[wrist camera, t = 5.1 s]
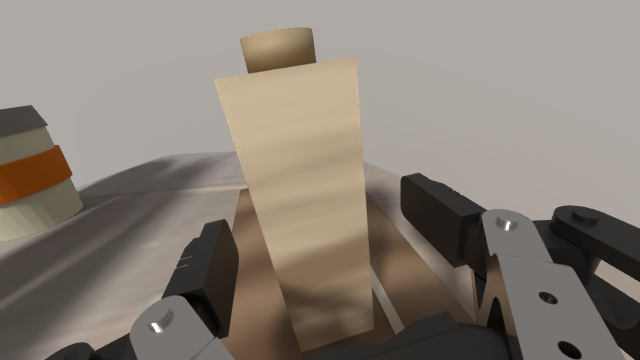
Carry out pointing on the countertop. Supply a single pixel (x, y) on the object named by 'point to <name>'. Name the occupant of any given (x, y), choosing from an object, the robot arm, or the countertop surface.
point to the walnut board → (386, 280)
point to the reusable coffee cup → (32, 176)
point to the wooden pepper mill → (305, 179)
